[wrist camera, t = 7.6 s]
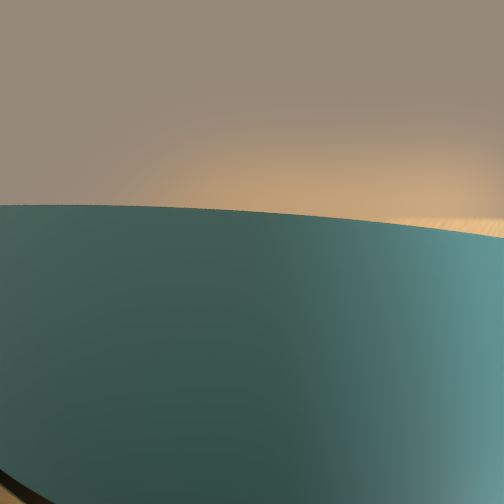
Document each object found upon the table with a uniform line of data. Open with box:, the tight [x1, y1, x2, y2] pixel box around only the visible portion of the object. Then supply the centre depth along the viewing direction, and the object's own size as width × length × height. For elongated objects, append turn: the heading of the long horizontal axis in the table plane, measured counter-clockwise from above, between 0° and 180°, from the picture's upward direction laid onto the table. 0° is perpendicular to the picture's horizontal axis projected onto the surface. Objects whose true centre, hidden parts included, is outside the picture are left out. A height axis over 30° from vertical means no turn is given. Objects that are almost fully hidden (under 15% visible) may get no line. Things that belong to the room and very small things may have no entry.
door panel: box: [0, 205, 504, 504], centre depth 9 cm, size 3×6×14 cm, turn 84°
